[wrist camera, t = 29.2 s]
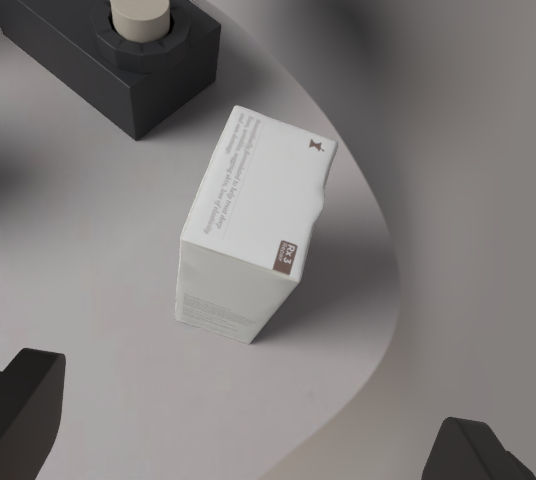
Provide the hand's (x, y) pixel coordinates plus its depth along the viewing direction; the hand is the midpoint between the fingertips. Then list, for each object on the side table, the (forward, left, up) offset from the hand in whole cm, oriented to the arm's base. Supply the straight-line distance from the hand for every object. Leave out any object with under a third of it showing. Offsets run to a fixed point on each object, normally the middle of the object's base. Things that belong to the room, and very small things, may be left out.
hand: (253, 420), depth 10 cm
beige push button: (+10, -27, -15) cm, 33 cm away
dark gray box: (+14, -31, -23) cm, 41 cm away
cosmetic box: (0, -11, -23) cm, 25 cm away
